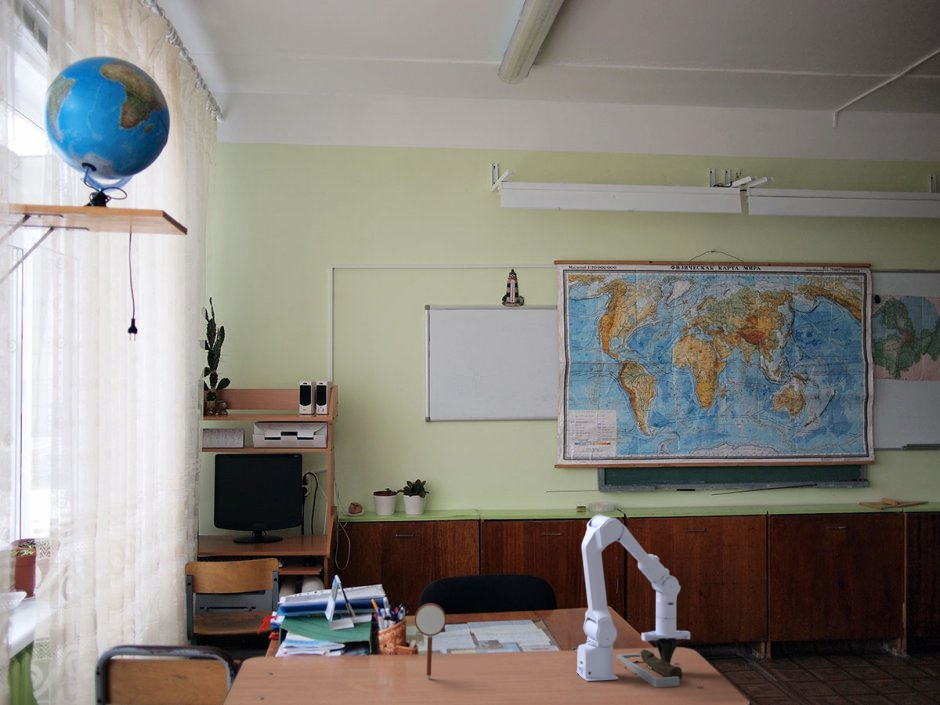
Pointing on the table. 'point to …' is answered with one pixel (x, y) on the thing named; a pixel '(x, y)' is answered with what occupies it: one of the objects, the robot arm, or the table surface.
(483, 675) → the table surface
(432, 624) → the magnifying glass
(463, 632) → the table surface
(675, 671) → the brown rough log
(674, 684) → the box
